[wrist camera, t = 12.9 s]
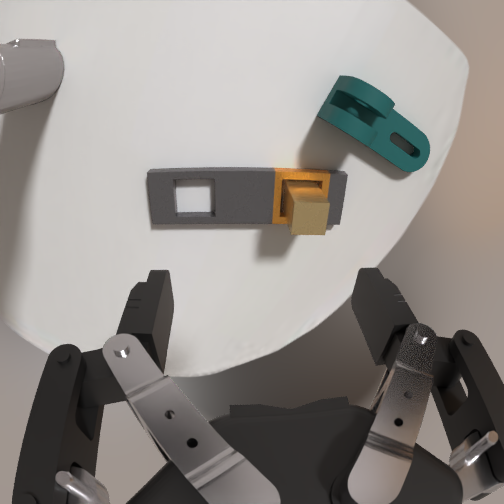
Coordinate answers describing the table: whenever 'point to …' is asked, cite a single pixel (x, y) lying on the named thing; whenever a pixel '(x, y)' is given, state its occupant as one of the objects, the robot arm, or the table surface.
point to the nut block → (305, 208)
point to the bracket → (374, 122)
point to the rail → (240, 194)
